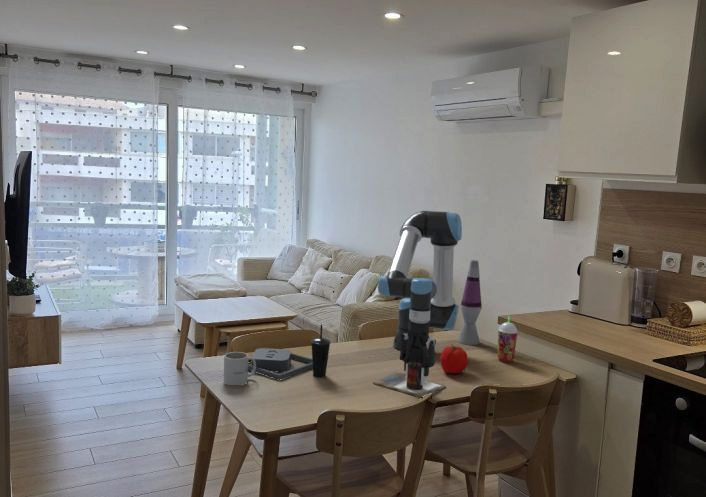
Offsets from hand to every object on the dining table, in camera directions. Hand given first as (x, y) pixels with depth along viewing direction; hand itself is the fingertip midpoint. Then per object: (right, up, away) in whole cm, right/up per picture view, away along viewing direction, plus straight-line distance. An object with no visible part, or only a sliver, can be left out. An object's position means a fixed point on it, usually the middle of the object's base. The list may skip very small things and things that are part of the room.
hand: (415, 381), depth 213 cm
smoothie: (+44, 0, +40) cm, 59 cm away
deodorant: (0, -2, 0) cm, 2 cm away
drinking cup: (-36, 0, +10) cm, 37 cm away
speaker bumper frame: (-53, +2, +18) cm, 56 cm away
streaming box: (-56, +2, +18) cm, 59 cm away
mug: (-65, 0, 0) cm, 65 cm away
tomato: (+17, -1, +20) cm, 27 cm away
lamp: (+33, +4, +67) cm, 75 cm away
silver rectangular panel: (-2, -2, +4) cm, 5 cm away
